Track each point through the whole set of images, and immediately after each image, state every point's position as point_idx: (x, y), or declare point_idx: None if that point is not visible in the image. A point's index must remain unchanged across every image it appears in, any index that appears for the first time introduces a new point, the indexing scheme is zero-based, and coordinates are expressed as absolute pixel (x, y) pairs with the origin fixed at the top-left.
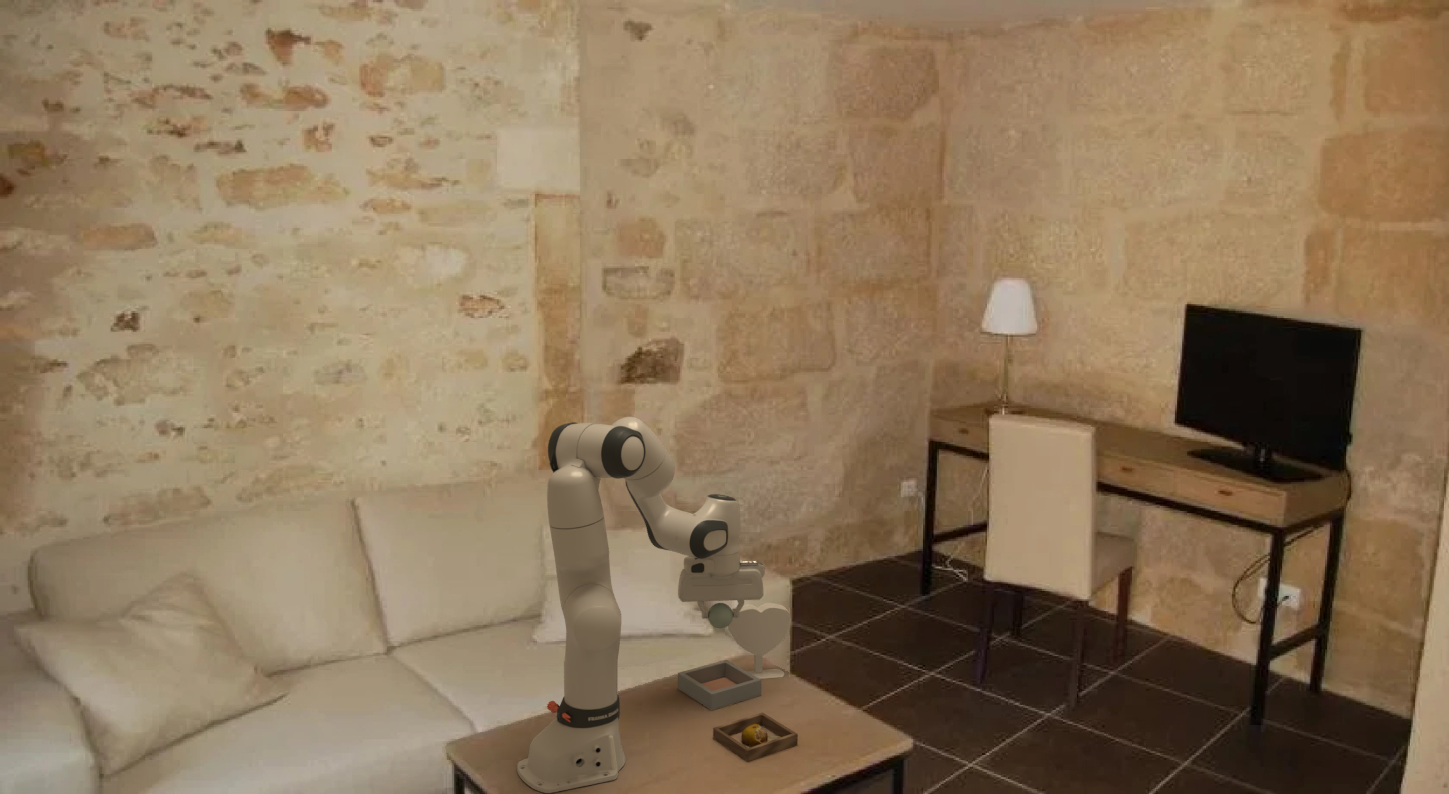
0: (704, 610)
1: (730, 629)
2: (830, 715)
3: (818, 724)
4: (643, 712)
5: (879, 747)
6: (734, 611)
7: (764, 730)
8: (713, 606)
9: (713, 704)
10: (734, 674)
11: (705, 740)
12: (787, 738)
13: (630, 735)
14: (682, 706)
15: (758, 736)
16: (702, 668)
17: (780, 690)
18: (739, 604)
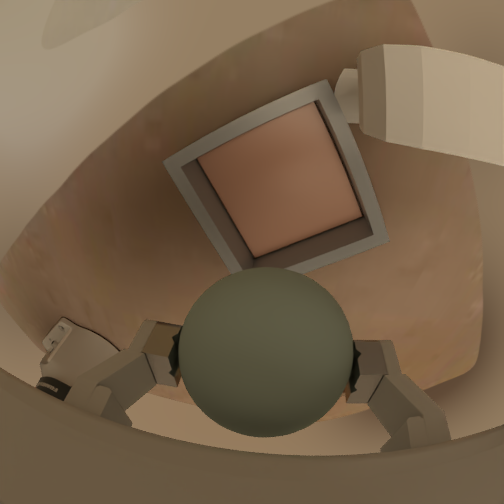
0: (148, 385)
1: (361, 122)
2: (451, 313)
3: (418, 336)
4: (120, 254)
5: (443, 381)
6: (352, 401)
7: None
8: (202, 408)
9: None
10: (337, 142)
11: None
12: (341, 395)
13: (118, 318)
14: (188, 242)
15: None
16: (236, 134)
17: (428, 203)
18: (398, 424)
